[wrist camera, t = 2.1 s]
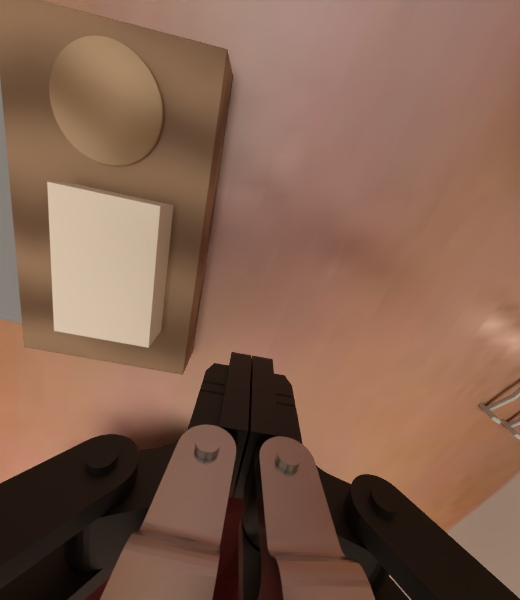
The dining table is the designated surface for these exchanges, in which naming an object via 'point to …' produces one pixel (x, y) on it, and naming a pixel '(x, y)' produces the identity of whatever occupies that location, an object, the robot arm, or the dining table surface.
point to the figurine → (508, 425)
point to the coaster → (106, 101)
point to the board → (112, 168)
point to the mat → (7, 238)
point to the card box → (108, 263)
